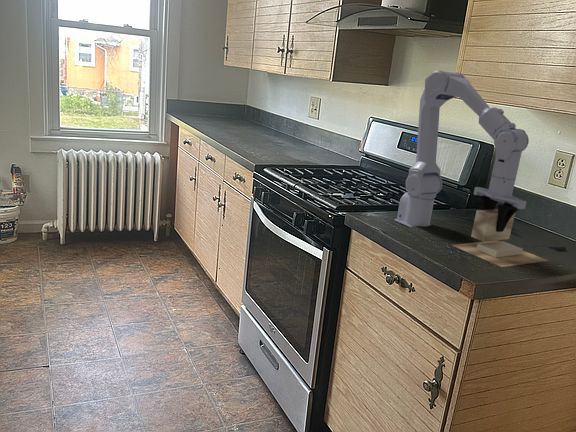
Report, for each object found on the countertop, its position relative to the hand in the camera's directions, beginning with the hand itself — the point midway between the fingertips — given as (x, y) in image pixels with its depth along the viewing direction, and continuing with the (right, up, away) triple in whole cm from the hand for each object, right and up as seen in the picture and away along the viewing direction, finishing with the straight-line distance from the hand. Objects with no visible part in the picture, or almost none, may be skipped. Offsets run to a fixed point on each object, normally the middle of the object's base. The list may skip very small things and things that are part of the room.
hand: (492, 228), depth 141 cm
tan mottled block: (0, -2, +1) cm, 2 cm away
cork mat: (+1, -7, -1) cm, 7 cm away
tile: (0, -4, +1) cm, 4 cm away
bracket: (+15, -5, +15) cm, 22 cm away
